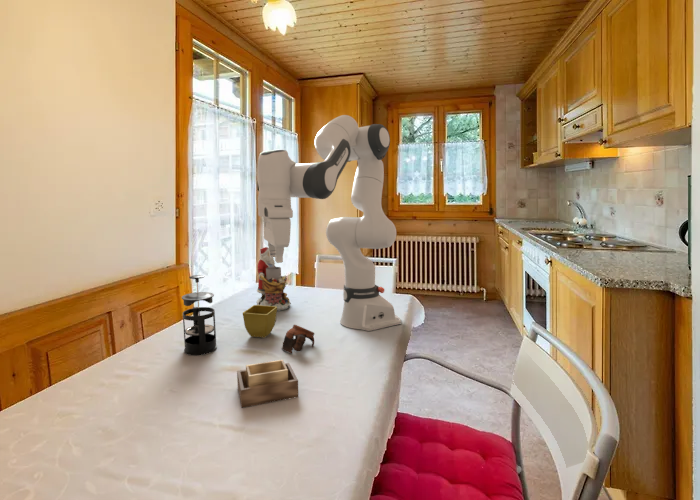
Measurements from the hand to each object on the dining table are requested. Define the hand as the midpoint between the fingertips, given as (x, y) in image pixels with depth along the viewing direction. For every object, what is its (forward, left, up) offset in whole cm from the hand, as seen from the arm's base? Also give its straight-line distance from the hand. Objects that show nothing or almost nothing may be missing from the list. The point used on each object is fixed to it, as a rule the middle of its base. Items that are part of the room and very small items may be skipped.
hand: (275, 259), depth 106 cm
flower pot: (+2, -20, -29) cm, 36 cm away
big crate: (+6, +18, -29) cm, 35 cm away
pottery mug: (-7, -4, -29) cm, 31 cm away
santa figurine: (-8, -52, -29) cm, 60 cm away
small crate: (+6, +18, -28) cm, 34 cm away
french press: (+21, -15, -29) cm, 39 cm away
